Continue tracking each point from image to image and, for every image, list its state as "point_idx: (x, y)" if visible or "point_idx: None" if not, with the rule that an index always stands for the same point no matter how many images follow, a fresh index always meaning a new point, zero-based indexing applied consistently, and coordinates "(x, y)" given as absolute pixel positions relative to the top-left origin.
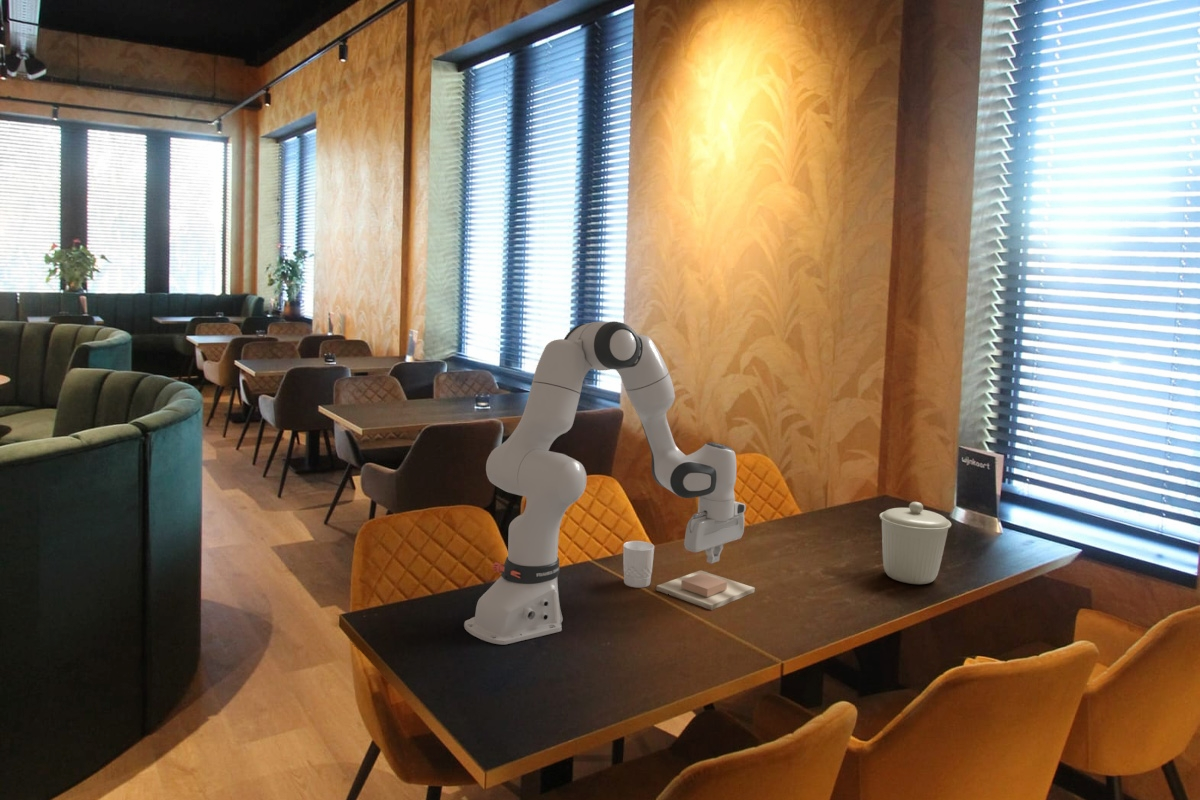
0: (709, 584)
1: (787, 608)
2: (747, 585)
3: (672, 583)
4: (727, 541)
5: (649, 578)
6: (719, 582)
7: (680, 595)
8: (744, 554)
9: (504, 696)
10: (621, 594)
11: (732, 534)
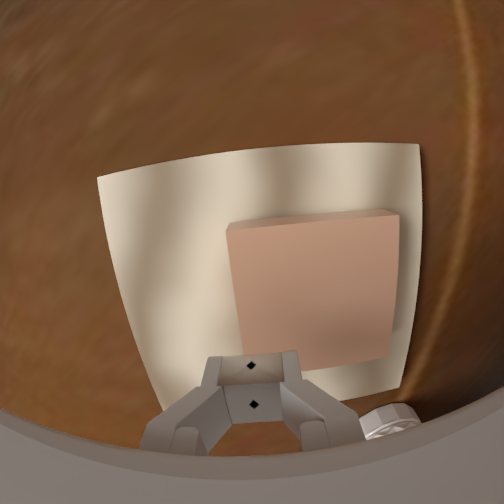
0: (342, 254)
1: (142, 6)
2: (103, 214)
3: (349, 384)
4: (89, 447)
5: (385, 422)
6: (273, 245)
7: (413, 297)
8: (6, 385)
9: None
10: (462, 382)
11: (6, 465)
